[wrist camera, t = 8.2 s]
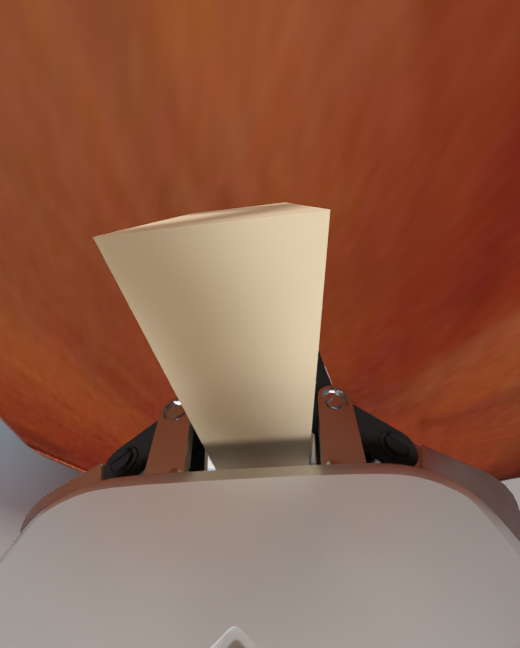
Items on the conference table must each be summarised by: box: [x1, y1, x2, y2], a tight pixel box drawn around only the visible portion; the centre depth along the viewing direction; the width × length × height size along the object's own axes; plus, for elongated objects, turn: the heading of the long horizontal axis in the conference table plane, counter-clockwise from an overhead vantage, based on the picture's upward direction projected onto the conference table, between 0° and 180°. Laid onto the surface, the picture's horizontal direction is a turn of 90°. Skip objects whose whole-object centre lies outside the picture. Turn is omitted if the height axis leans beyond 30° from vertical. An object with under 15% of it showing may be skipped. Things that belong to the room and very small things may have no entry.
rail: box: [93, 202, 330, 470], centre depth 11 cm, size 4×18×6 cm, turn 6°
